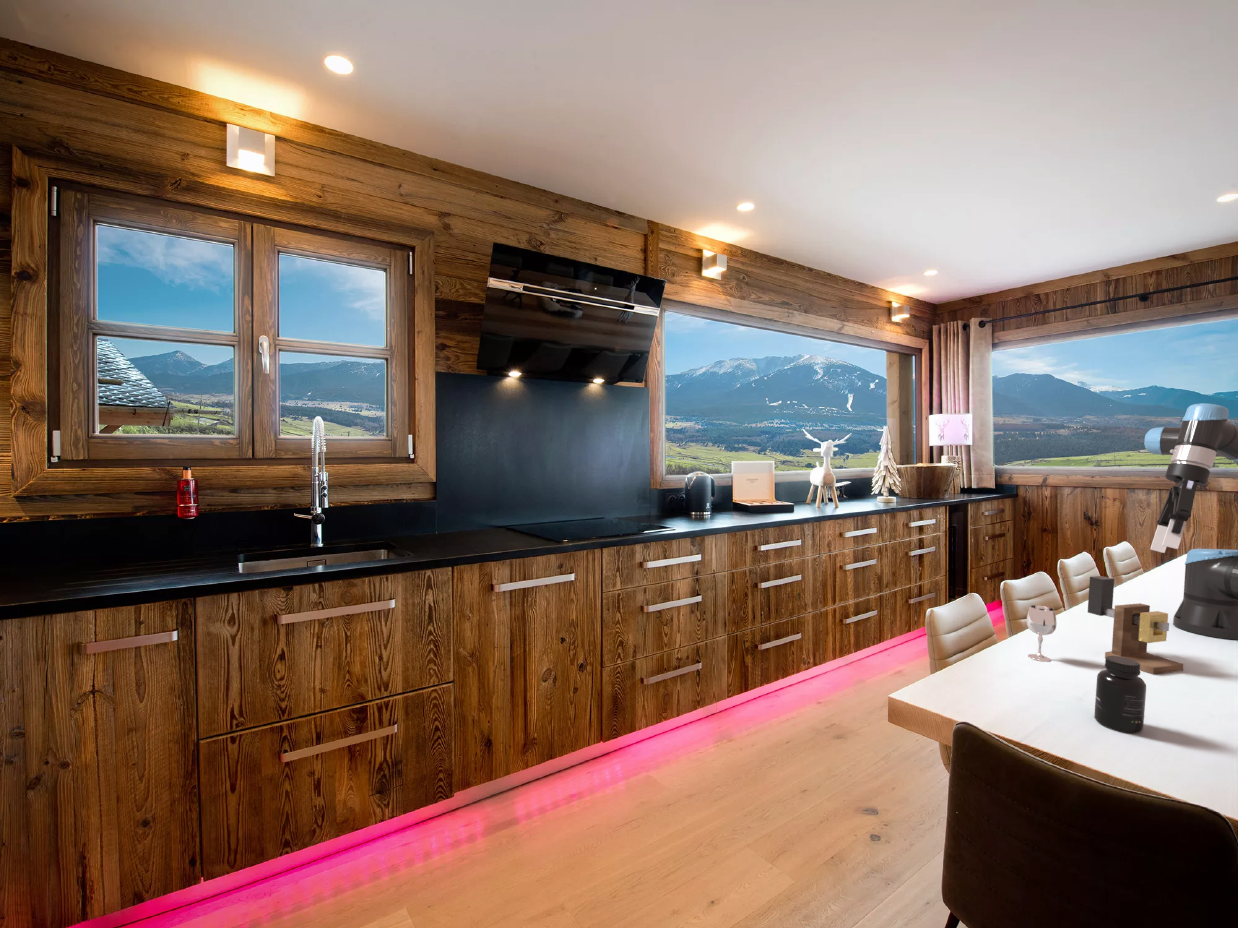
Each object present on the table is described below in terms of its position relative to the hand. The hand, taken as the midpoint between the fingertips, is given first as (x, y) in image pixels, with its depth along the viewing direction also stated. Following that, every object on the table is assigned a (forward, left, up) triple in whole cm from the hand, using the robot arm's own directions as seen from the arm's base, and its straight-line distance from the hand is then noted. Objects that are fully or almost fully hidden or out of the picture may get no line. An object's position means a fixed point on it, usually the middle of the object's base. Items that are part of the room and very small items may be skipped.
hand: (1163, 549), depth 145 cm
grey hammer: (+11, 0, -17) cm, 20 cm away
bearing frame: (+11, +3, -26) cm, 28 cm away
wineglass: (+32, -5, -26) cm, 42 cm away
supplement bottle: (+51, +24, -26) cm, 62 cm away
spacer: (+11, +5, -20) cm, 23 cm away
